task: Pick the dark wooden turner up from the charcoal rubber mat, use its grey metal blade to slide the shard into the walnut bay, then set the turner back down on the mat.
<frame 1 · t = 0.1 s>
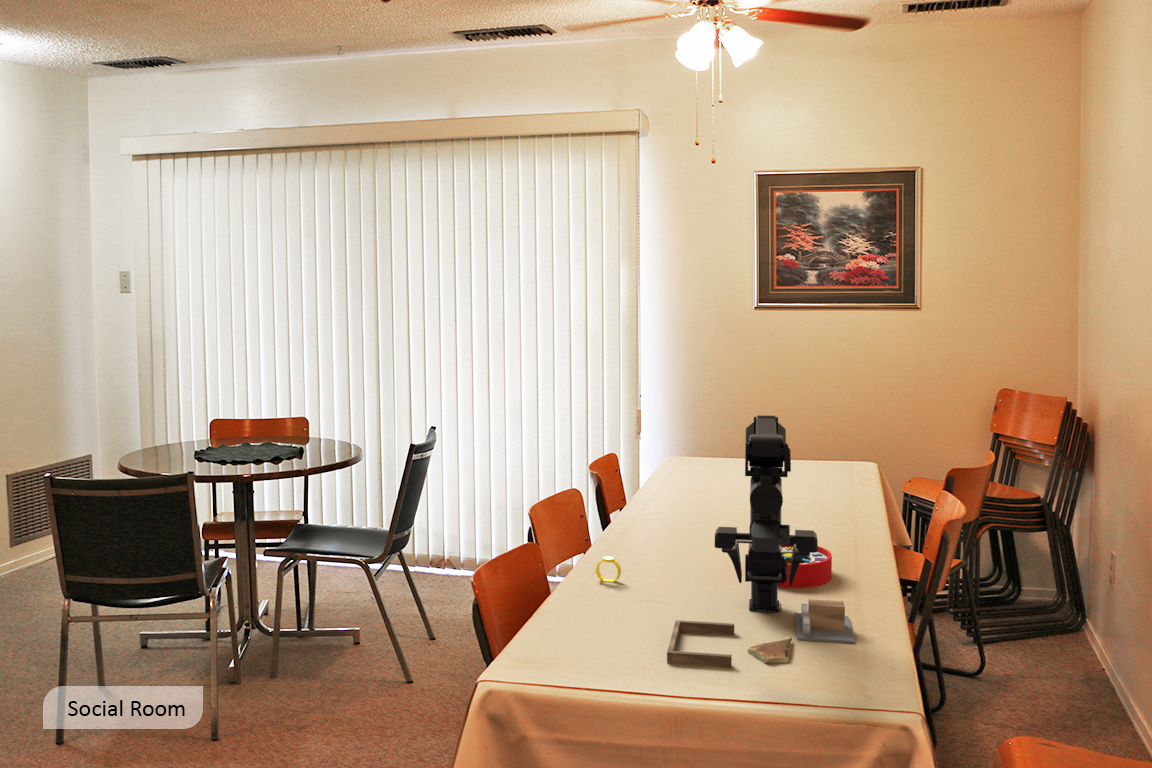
hand: (765, 583, 170), 15 cm above the table, tool pointing down, fingers open, 9 cm apart
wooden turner: (826, 626, 186), resting on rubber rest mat
shard: (769, 655, 174), on the table
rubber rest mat: (823, 628, 186), on the table
toy clock: (789, 576, 221), on the table
watch: (608, 582, 218), on the table
walnut bay: (702, 647, 177), on the table
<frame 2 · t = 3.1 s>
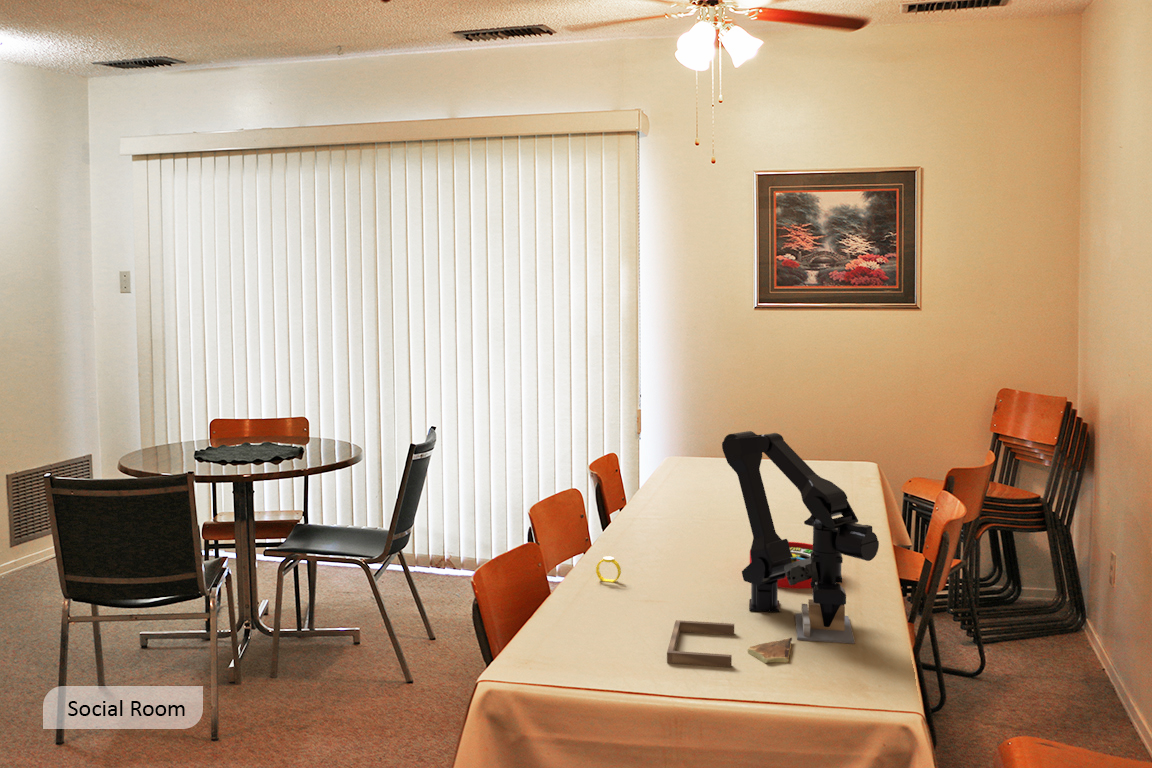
hand: (826, 623, 186), 1 cm above the table, tool pointing down, fingers closed on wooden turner, 3 cm apart
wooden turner: (826, 626, 186), resting on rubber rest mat, touching gripper
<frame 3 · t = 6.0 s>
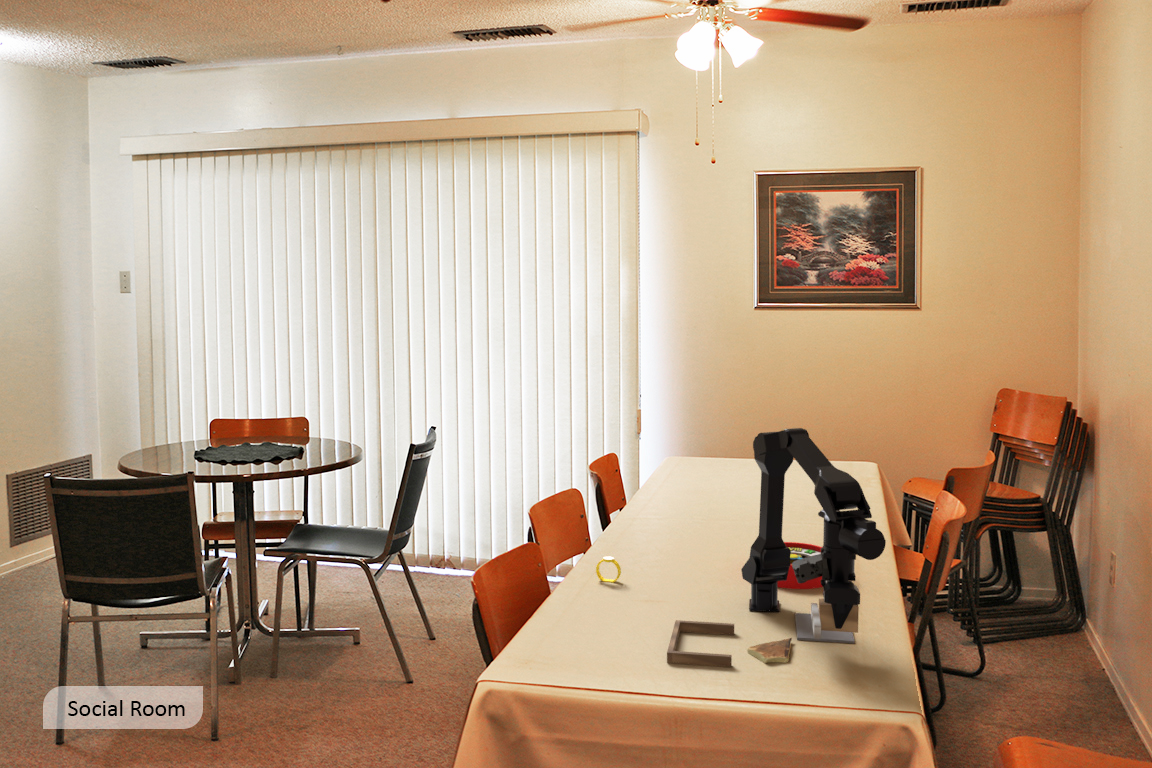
hand: (837, 624, 171), 6 cm above the table, tool pointing down, fingers closed on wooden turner, 3 cm apart
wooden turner: (838, 628, 171), point 6 cm above the table, touching gripper
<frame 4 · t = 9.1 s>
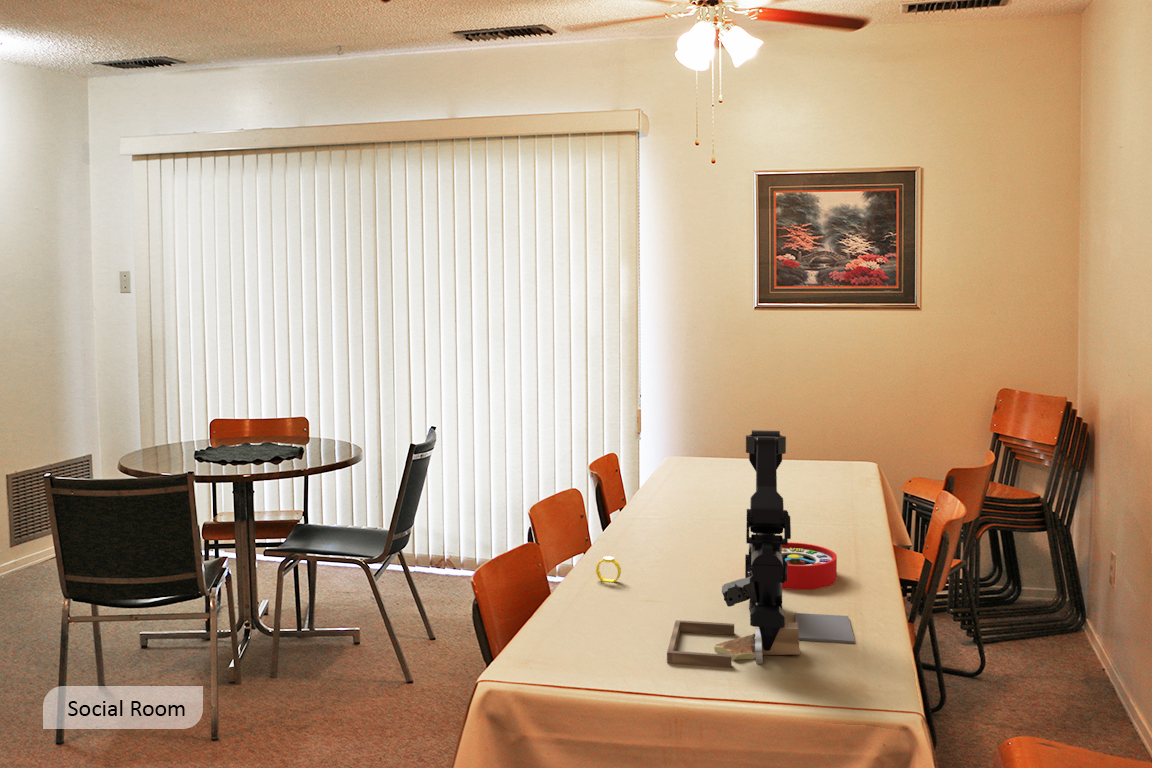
hand: (766, 646, 174), 1 cm above the table, tool pointing down, fingers closed on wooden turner, 3 cm apart
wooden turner: (781, 650, 174), on the table, touching gripper
shard: (735, 652, 176), on the table
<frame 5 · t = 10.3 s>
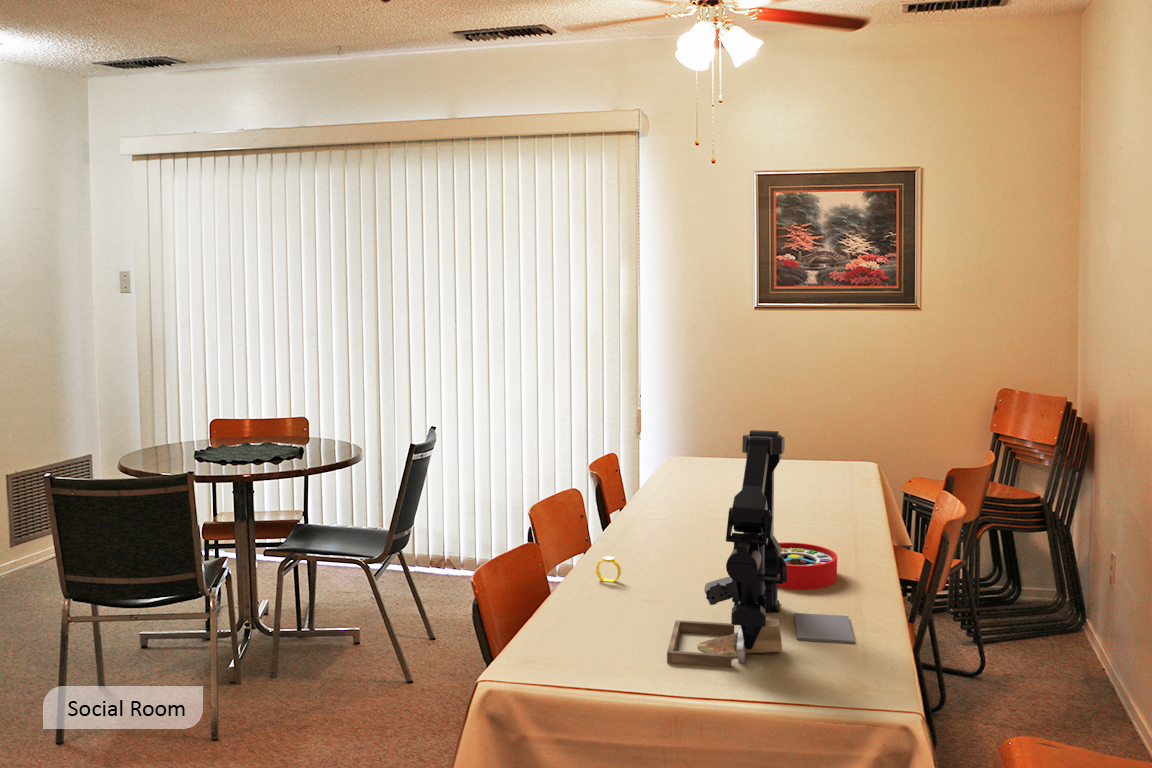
hand: (749, 645, 175), 1 cm above the table, tool pointing down, fingers closed on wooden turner, 3 cm apart
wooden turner: (763, 648, 174), point 1 cm above the table, tilted 8°, touching shard, gripper
shard: (718, 650, 177), on the table, touching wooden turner
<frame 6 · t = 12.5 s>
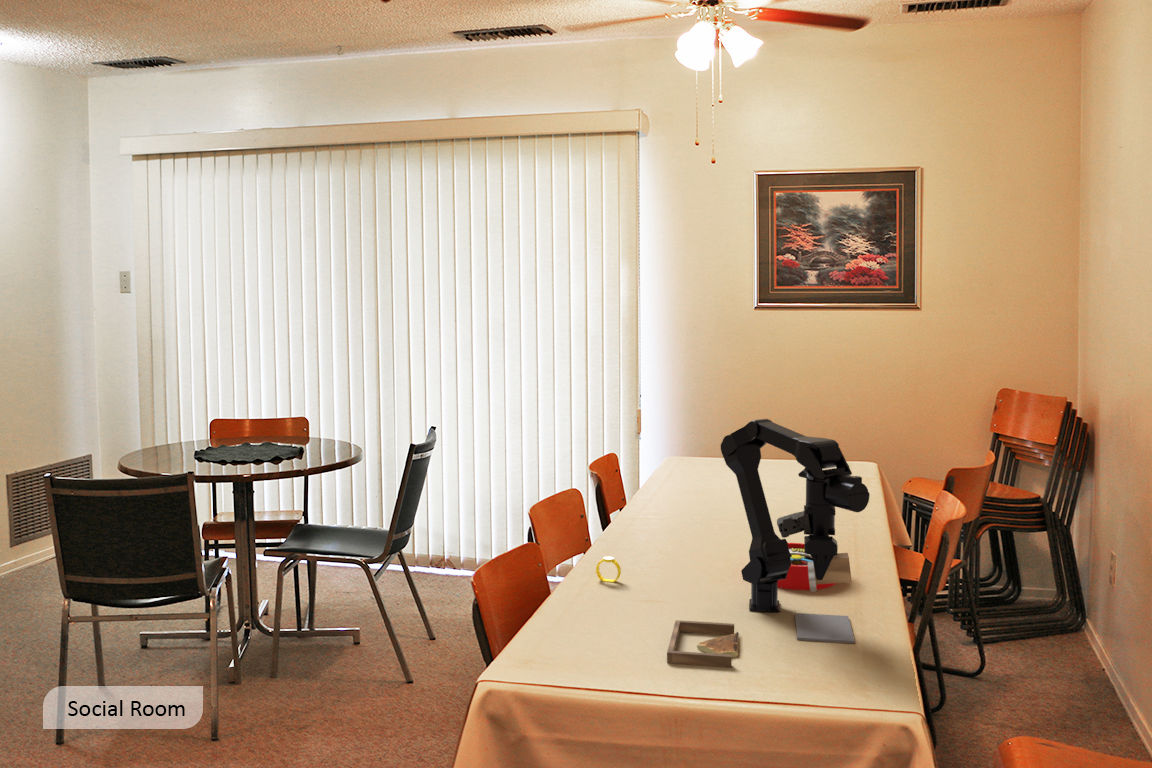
hand: (819, 576, 183), 11 cm above the table, tool pointing down, fingers closed on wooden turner, 3 cm apart
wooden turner: (833, 580, 183), point 11 cm above the table, tilted 8°, touching gripper
shard: (718, 650, 177), on the table
when the fingers open (3 cm above the table, at t = 14.7 s): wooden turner drops 2 cm, resting on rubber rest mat.
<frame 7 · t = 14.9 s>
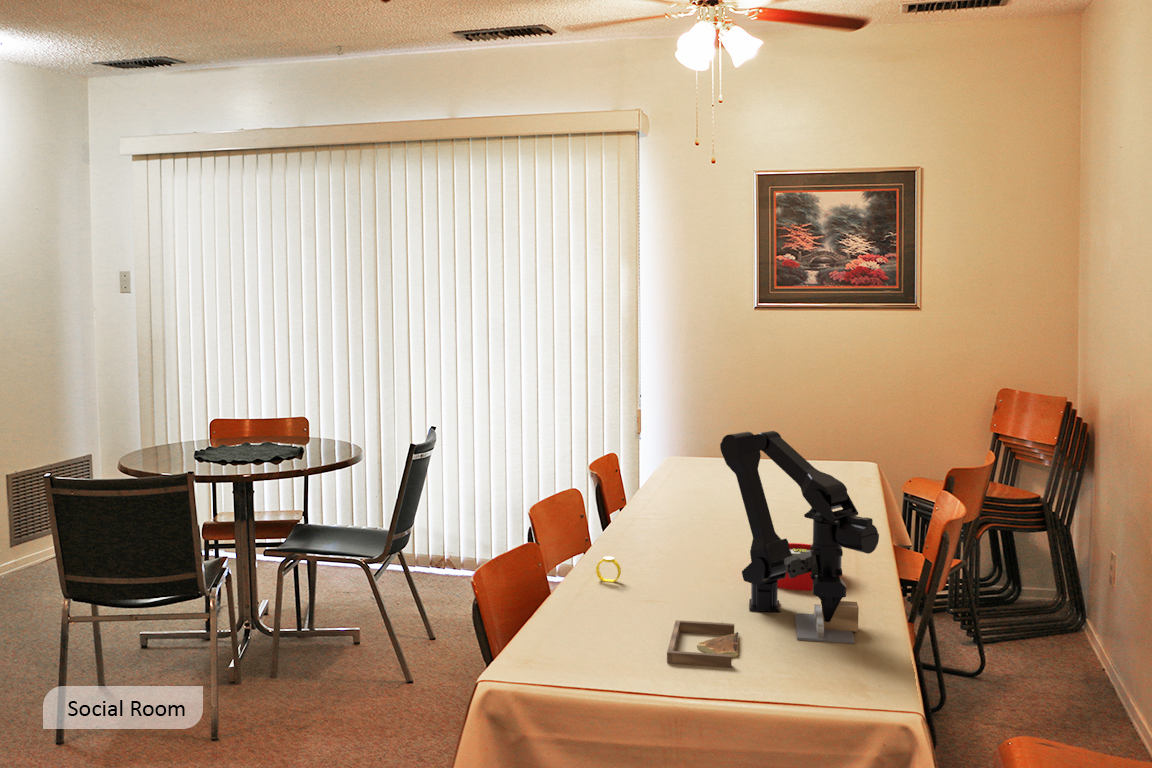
hand: (826, 616, 185), 3 cm above the table, tool pointing down, fingers open, 6 cm apart
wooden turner: (839, 627, 185), resting on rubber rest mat
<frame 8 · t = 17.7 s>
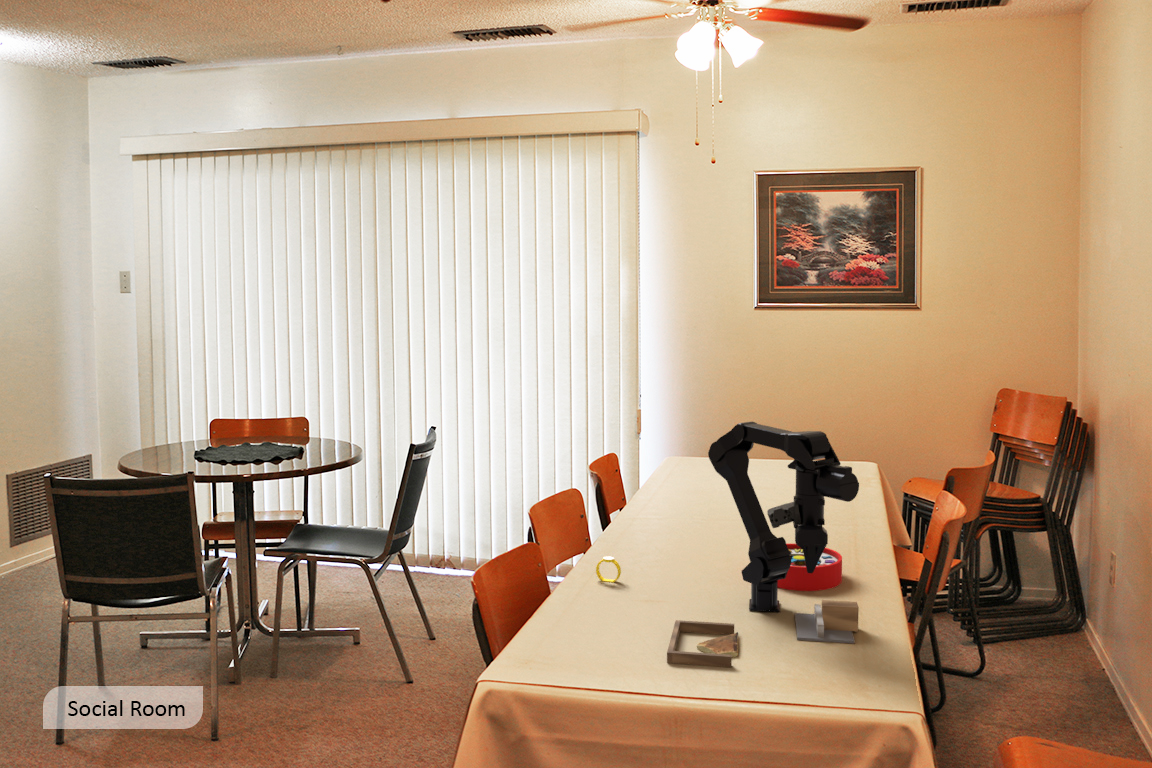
hand: (808, 566, 187), 13 cm above the table, tool pointing down, fingers open, 9 cm apart
at the end: shard inside the target area (2.9 cm from its centre), on the table; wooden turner inside the target area (3.2 cm from its centre), point 0.5 cm above the table; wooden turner tilted 0° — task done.
